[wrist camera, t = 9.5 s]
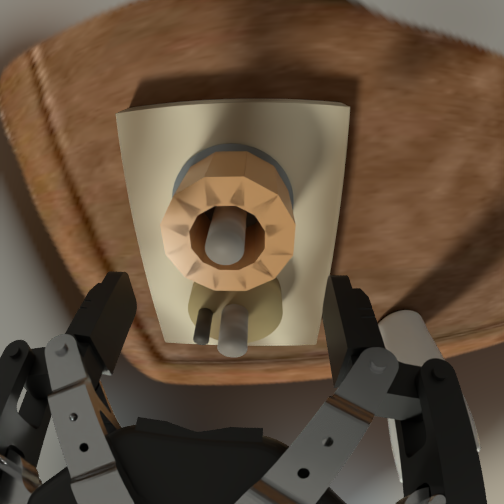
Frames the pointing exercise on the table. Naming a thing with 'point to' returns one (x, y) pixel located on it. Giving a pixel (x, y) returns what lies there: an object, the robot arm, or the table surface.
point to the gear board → (277, 134)
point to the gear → (230, 194)
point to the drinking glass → (410, 357)
